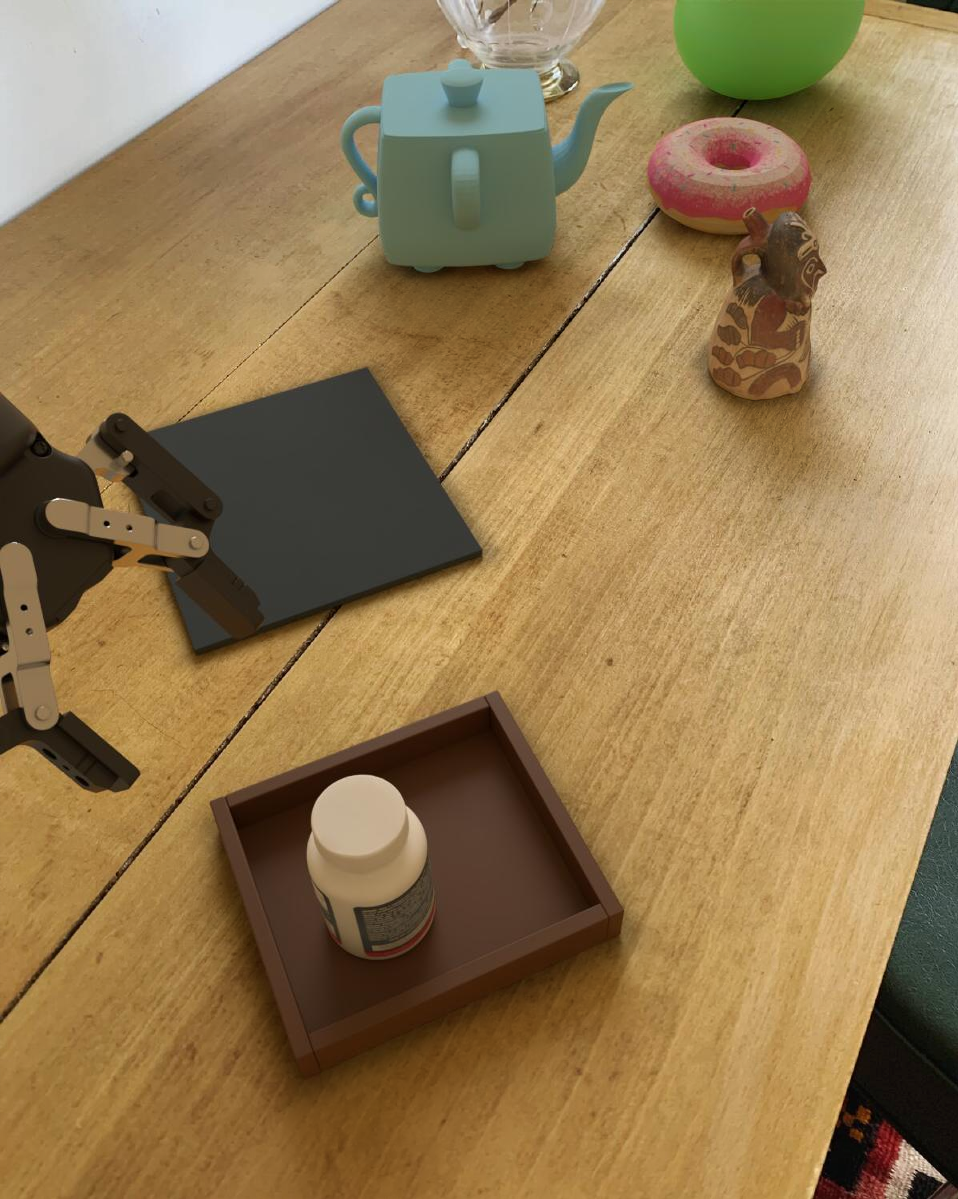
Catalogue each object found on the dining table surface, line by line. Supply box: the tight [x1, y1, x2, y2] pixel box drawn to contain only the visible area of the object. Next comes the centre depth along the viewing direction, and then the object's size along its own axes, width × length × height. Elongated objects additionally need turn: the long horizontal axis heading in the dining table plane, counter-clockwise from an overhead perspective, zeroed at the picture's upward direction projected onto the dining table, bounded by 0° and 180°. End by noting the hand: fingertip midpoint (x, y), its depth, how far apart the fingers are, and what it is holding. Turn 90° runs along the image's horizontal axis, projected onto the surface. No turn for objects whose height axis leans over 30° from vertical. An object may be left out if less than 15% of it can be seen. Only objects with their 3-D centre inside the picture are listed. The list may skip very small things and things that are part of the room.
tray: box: [209, 690, 625, 1080], centre depth 53 cm, size 16×14×2 cm
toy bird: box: [672, 0, 866, 101], centre depth 102 cm, size 18×17×15 cm
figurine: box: [706, 207, 828, 401], centre depth 74 cm, size 7×7×12 cm
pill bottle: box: [307, 775, 435, 960], centre depth 49 cm, size 5×5×9 cm
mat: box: [138, 366, 484, 656], centre depth 71 cm, size 18×20×1 cm
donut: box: [646, 117, 813, 235], centre depth 92 cm, size 14×13×5 cm
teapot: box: [339, 58, 635, 273], centre depth 86 cm, size 18×16×14 cm
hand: (193, 702), depth 46 cm, fingers open, 8 cm apart
